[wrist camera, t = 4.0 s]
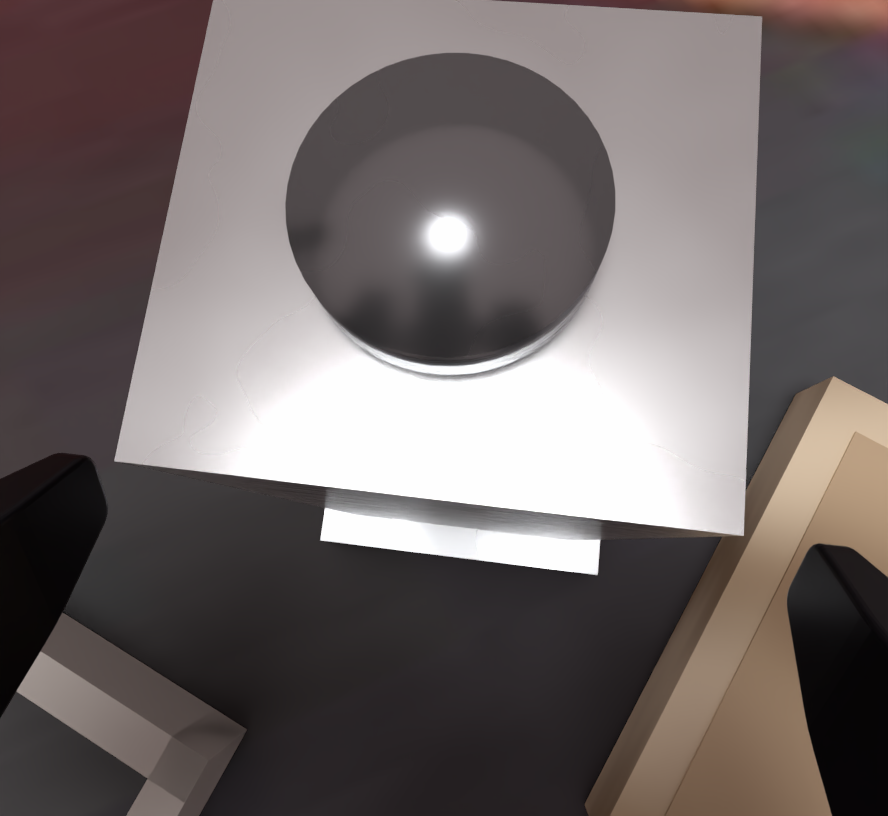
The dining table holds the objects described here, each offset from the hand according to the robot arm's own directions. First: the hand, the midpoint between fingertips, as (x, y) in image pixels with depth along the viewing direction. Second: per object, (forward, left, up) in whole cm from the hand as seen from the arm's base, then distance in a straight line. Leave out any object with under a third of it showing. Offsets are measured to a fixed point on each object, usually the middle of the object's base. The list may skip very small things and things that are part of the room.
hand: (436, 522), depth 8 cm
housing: (+2, +1, -10) cm, 10 cm away
